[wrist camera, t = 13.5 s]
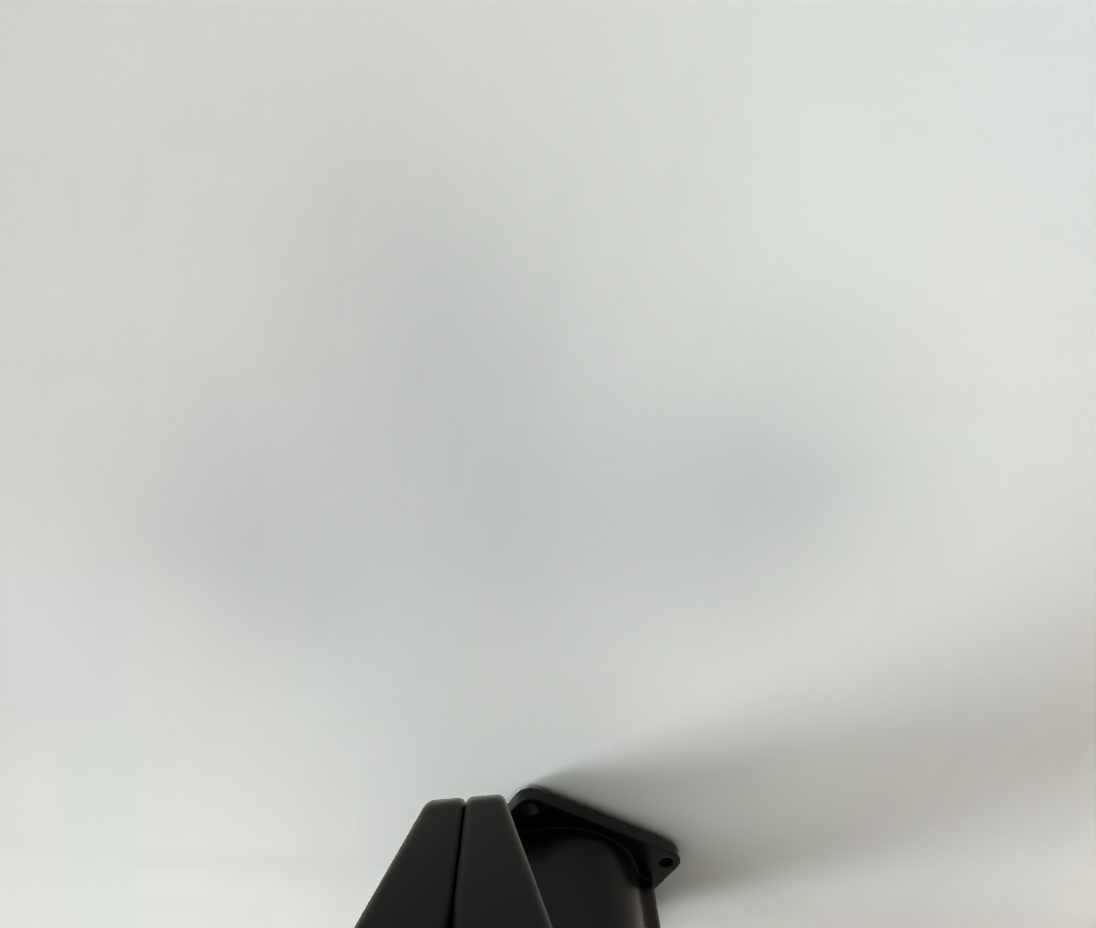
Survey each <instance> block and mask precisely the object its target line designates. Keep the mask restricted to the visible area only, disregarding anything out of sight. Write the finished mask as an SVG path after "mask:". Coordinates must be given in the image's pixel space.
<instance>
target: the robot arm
mask: <svg viewBox="0 0 1096 928" xmlns="http://www.w3.org/2000/svg"><path fill="white" fill-rule="evenodd" d="M679 864H680V858H679V853H678V849H677V847H676V846H675V845H674V844H672V843H669V842H667V841H664V840H662V839H659V838H657V837H654V836H652V835H649V834H647V833H644V832H642V831H639V830H637V829H634V828H632V827H629V826H627V825H625V824H622V823H620V822H617V821H615V820H612V819H610V818H607V817H605V816H602V815H600V814H597V813H595V812H592V811H590V810H587V809H585V808H582V807H580V806H577V805H575V804H572V803H570V802H567V801H565V800H562V799H560V798H557V797H555V796H552V795H550V794H547V793H545V792H542V791H540V790H537V789H533V788H528V789H524V790H521V791H519V792H518V793H517V794H516V795H515V796H514V797H513V799H512V800H511V801H510V802H509V803H508V804H507V803H506V801H505V799H504V798H503V796H501V795H488V796H476V797H471V798H469V799H468V800H467V802H465V801H464V800H463V799H461V798H453V799H441V800H433V801H430V802H428V803H427V804H426V805H425V806H424V808H423V809H422V811H421V813H420V815H419V816H418V818H417V820H416V821H415V823H414V825H413V827H412V828H411V830H410V832H409V834H408V835H407V837H406V839H405V841H404V842H403V844H402V846H401V848H400V849H399V851H398V853H397V854H396V856H395V858H394V860H393V861H392V863H391V865H390V867H389V868H388V870H387V872H386V874H385V875H384V877H383V879H382V880H381V882H380V884H379V886H378V887H377V889H376V891H375V893H374V894H373V896H372V898H371V900H370V901H369V903H368V905H367V907H366V908H365V910H364V912H363V913H362V915H361V917H360V919H359V920H358V922H357V924H356V926H355V927H354V928H661V927H660V921H659V915H658V909H657V903H656V897H655V891H654V889H655V888H656V887H657V886H658V885H659V884H660V883H661V882H662V881H663V880H664V879H665V878H666V877H667V876H668V875H669V874H670V873H671V872H673V871H674V870H675V869H676V868H677V867H678V865H679Z"/></svg>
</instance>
